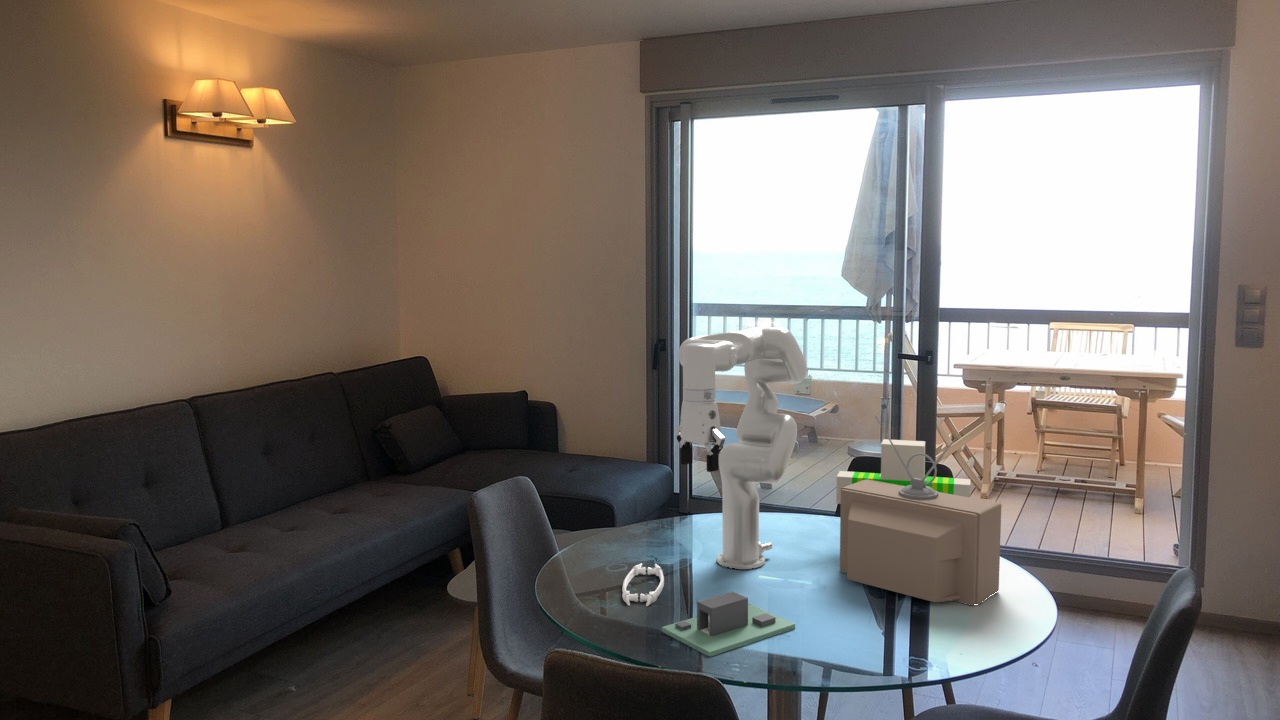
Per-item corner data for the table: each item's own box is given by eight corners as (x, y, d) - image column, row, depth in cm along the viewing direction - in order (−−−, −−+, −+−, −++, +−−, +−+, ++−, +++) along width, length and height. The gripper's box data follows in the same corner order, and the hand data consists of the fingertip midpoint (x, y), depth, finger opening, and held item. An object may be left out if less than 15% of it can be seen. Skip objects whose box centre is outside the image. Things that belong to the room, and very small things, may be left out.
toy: (968, 553, 250) (971, 443, 246) (968, 561, 243) (971, 448, 240) (839, 542, 261) (840, 437, 258) (835, 549, 254) (837, 441, 251)
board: (745, 606, 214) (745, 592, 214) (795, 628, 201) (795, 613, 201) (661, 631, 200) (661, 616, 200) (709, 656, 187) (709, 640, 187)
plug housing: (732, 617, 205) (732, 591, 204) (747, 624, 201) (748, 597, 200) (697, 628, 199) (696, 601, 198) (712, 636, 195) (712, 608, 194)
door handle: (667, 572, 239) (659, 608, 215) (629, 571, 240) (616, 607, 216) (667, 562, 239) (659, 597, 214) (629, 561, 240) (616, 595, 215)
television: (1001, 591, 222) (1006, 425, 218) (963, 615, 207) (967, 438, 203) (866, 558, 247) (868, 409, 243) (824, 578, 232) (825, 420, 228)
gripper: (735, 398, 214) (735, 471, 216) (688, 390, 228) (688, 459, 230) (710, 401, 210) (710, 476, 212) (664, 393, 224) (664, 463, 226)
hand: (699, 467), depth 221 cm, fingers open, 9 cm apart
